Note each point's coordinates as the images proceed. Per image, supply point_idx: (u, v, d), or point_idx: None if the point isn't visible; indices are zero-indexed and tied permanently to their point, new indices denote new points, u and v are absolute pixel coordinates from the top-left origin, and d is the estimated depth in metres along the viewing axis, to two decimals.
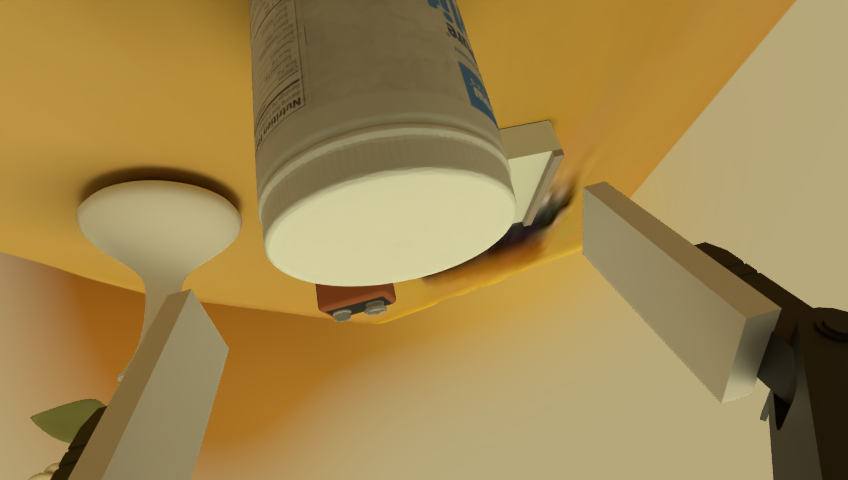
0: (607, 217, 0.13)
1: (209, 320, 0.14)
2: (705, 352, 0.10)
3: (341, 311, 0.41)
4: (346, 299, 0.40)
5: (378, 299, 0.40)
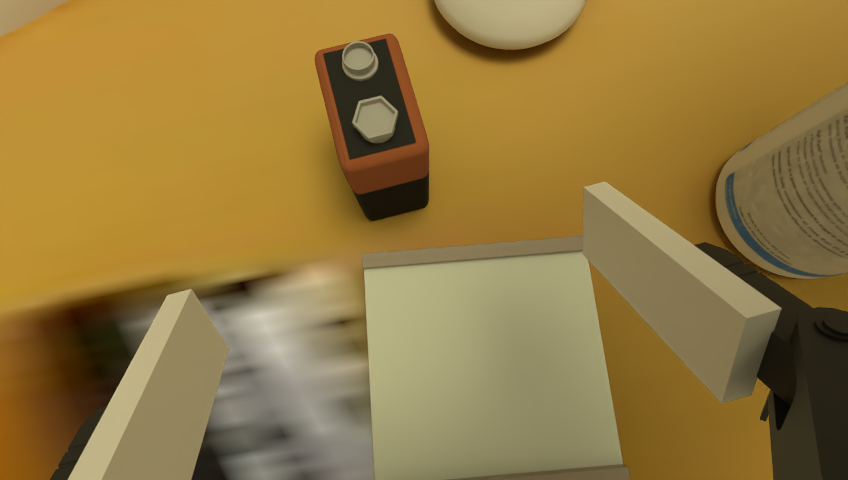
0: (607, 218, 0.13)
1: (209, 320, 0.14)
2: (705, 352, 0.10)
3: (377, 63, 0.21)
4: (410, 82, 0.21)
5: (402, 134, 0.20)
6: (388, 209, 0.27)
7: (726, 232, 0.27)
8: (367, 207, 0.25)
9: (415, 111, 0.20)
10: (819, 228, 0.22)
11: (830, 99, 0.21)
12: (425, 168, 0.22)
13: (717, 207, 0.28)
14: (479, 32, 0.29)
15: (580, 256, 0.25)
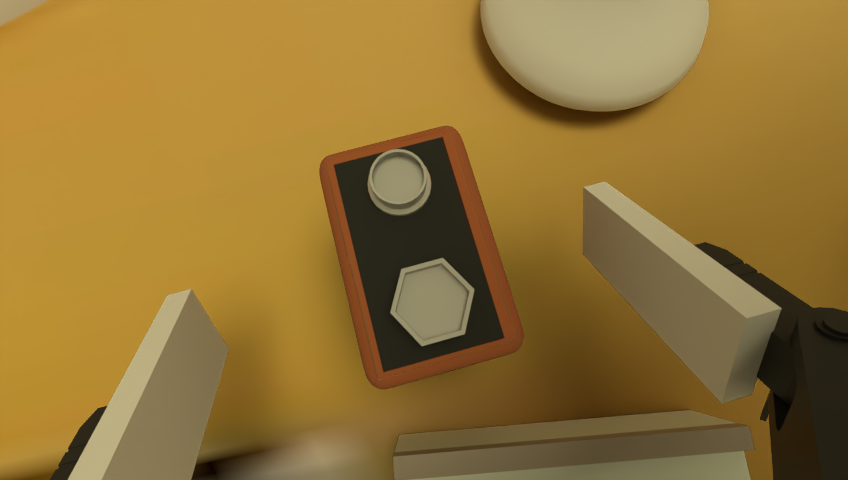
0: (607, 218, 0.13)
1: (209, 320, 0.14)
2: (705, 352, 0.10)
3: (430, 184, 0.12)
4: None
5: (478, 321, 0.11)
6: None
7: None
8: None
9: (499, 274, 0.11)
10: None
11: None
12: None
13: None
14: (555, 89, 0.20)
15: (733, 454, 0.16)
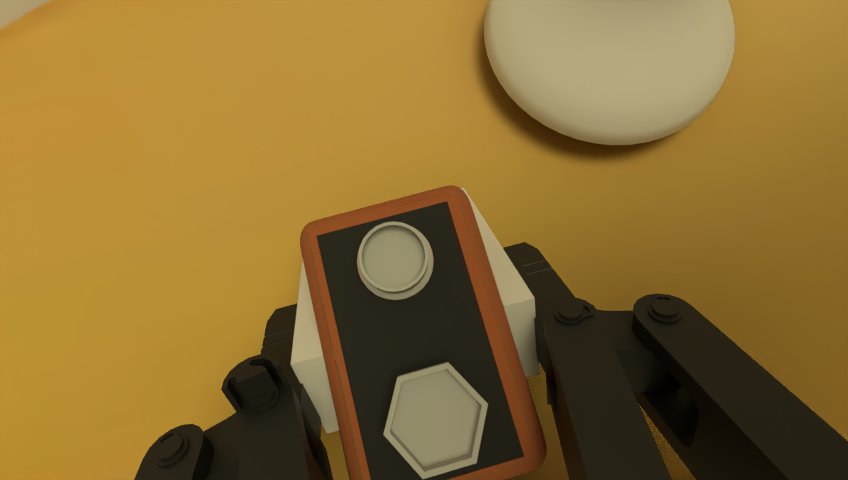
0: None
1: None
2: None
3: (433, 261, 0.10)
4: (499, 294, 0.10)
5: (492, 435, 0.09)
6: None
7: None
8: None
9: (516, 372, 0.09)
10: None
11: None
12: None
13: None
14: (568, 121, 0.18)
15: None
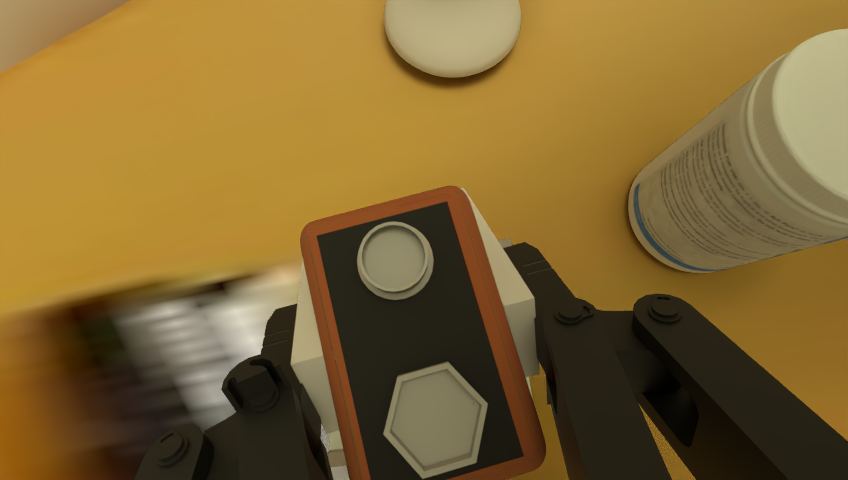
0: None
1: None
2: None
3: (433, 261, 0.10)
4: (499, 294, 0.10)
5: (493, 434, 0.09)
6: None
7: (635, 234, 0.32)
8: None
9: (516, 372, 0.09)
10: (693, 231, 0.26)
11: (698, 125, 0.26)
12: None
13: None
14: (424, 63, 0.34)
15: None
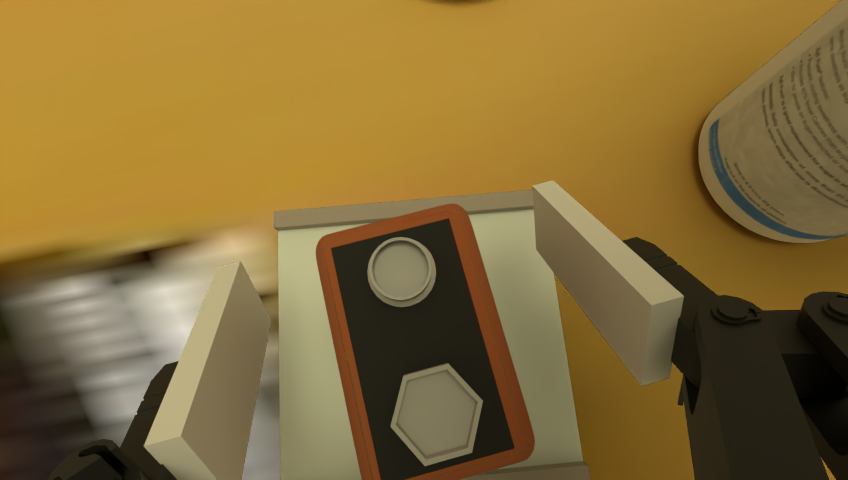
0: (551, 214, 0.14)
1: (254, 291, 0.15)
2: (626, 338, 0.11)
3: (435, 273, 0.11)
4: None
5: (486, 428, 0.10)
6: None
7: (710, 190, 0.23)
8: None
9: (509, 373, 0.10)
10: (819, 171, 0.18)
11: (831, 11, 0.17)
12: None
13: (699, 162, 0.24)
14: None
15: None
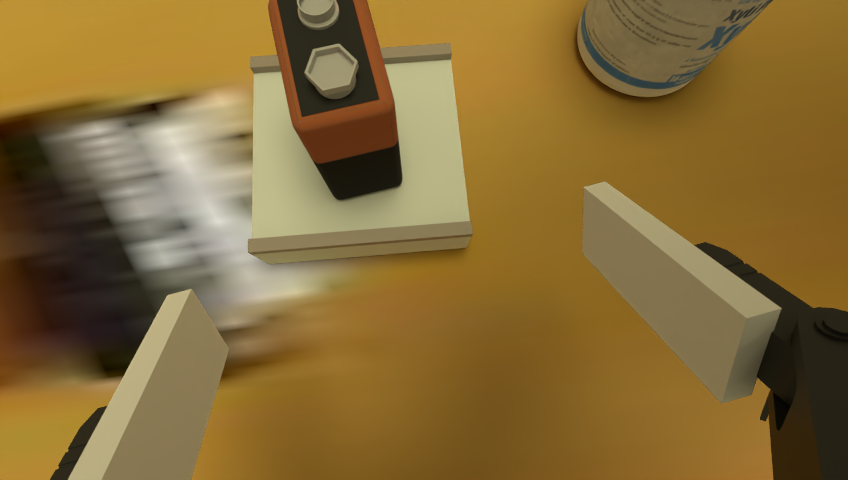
0: (608, 217, 0.13)
1: (209, 320, 0.14)
2: (705, 352, 0.10)
3: (338, 10, 0.18)
4: None
5: (364, 89, 0.17)
6: (356, 186, 0.24)
7: (584, 59, 0.31)
8: (331, 181, 0.23)
9: (379, 65, 0.18)
10: (632, 16, 0.25)
11: None
12: (392, 134, 0.20)
13: (577, 40, 0.31)
14: None
15: (445, 63, 0.28)
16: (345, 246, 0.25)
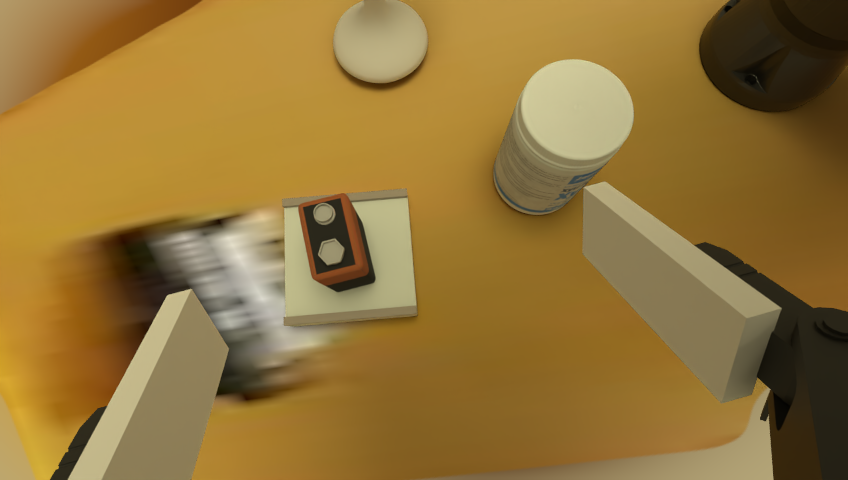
0: (607, 217, 0.13)
1: (209, 320, 0.14)
2: (705, 352, 0.10)
3: (334, 214, 0.35)
4: (354, 224, 0.35)
5: (348, 259, 0.34)
6: (347, 287, 0.41)
7: None
8: (332, 288, 0.40)
9: (356, 244, 0.35)
10: (513, 181, 0.42)
11: None
12: (364, 272, 0.36)
13: (493, 175, 0.48)
14: (359, 73, 0.49)
15: (403, 200, 0.45)
16: (341, 320, 0.42)
